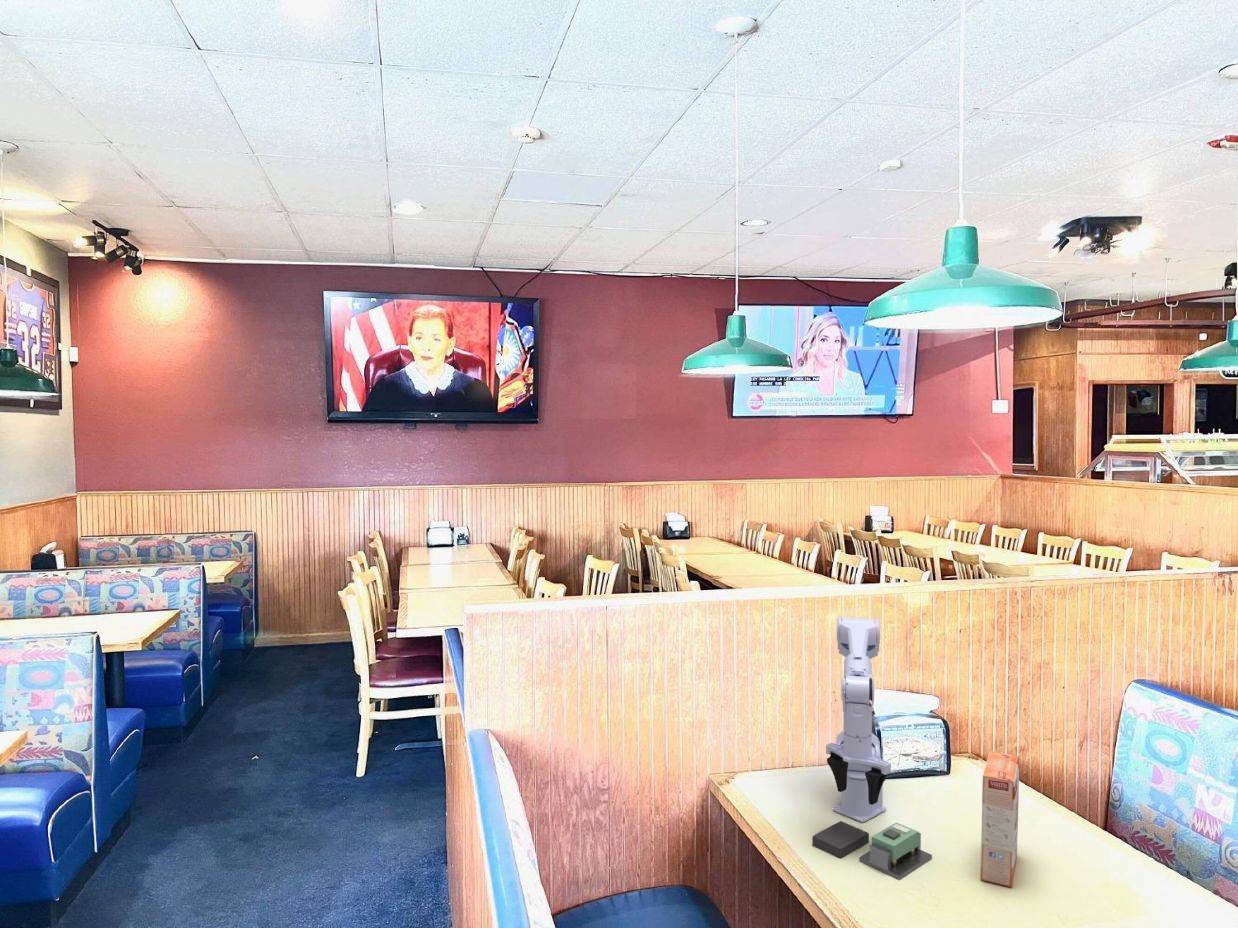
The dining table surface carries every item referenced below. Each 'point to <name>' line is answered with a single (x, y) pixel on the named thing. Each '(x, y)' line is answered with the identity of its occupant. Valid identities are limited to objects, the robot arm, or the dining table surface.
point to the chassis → (899, 867)
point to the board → (896, 840)
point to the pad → (840, 839)
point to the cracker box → (999, 818)
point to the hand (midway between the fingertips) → (857, 796)
